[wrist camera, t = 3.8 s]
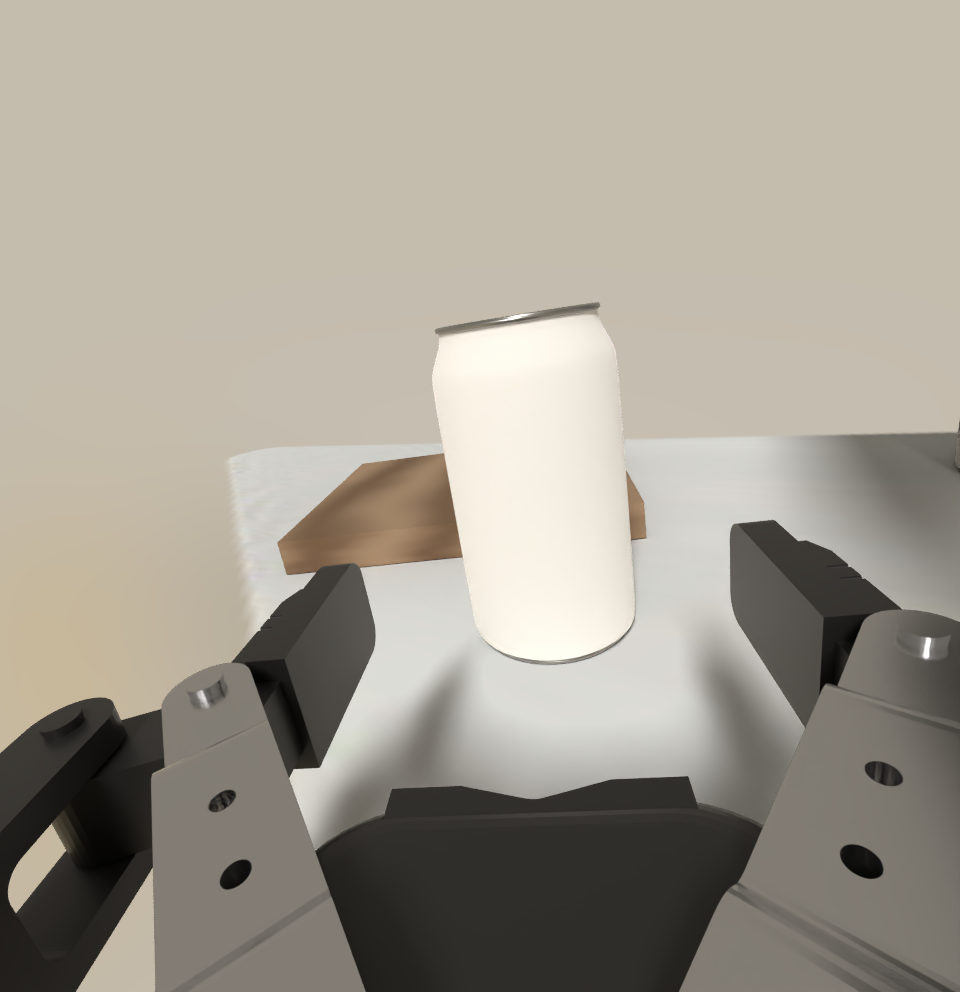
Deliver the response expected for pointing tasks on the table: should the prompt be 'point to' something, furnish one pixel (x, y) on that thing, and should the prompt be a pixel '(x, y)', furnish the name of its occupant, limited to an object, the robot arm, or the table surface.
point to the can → (538, 480)
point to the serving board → (392, 518)
